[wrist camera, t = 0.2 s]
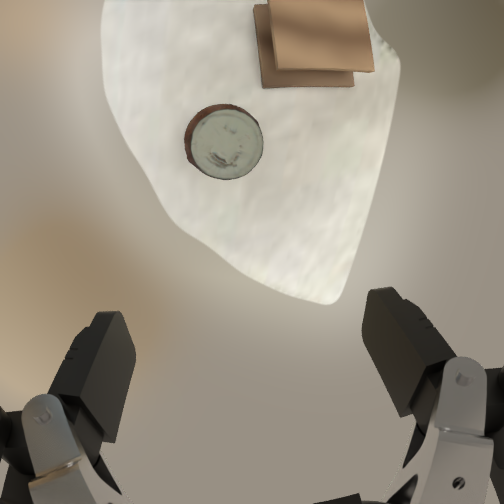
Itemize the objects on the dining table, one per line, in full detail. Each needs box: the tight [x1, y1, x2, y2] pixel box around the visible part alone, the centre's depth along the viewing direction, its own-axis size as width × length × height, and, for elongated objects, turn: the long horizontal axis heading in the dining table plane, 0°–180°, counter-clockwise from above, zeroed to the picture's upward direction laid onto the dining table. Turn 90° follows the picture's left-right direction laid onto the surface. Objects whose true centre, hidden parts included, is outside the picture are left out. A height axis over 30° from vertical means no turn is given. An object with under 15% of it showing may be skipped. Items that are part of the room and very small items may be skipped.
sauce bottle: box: [184, 104, 263, 180], centre depth 25 cm, size 7×6×20 cm
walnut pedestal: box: [253, 0, 375, 88], centre depth 26 cm, size 11×11×8 cm
